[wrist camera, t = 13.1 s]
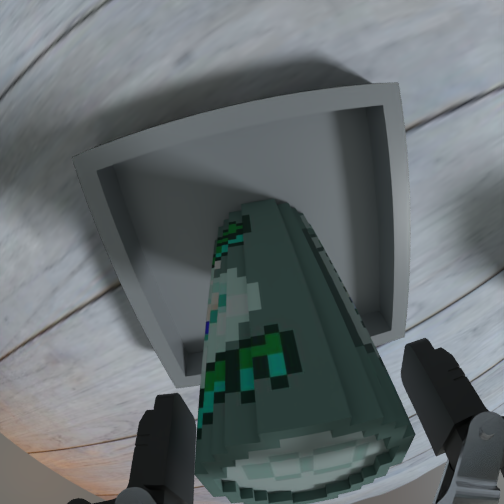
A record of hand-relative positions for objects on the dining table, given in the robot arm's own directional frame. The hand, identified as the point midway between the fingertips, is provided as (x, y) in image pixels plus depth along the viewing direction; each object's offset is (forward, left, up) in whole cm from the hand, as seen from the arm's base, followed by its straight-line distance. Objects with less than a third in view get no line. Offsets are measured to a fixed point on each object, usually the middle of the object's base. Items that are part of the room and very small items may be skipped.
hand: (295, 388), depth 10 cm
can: (0, 0, -12) cm, 12 cm away
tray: (0, 0, -13) cm, 13 cm away
